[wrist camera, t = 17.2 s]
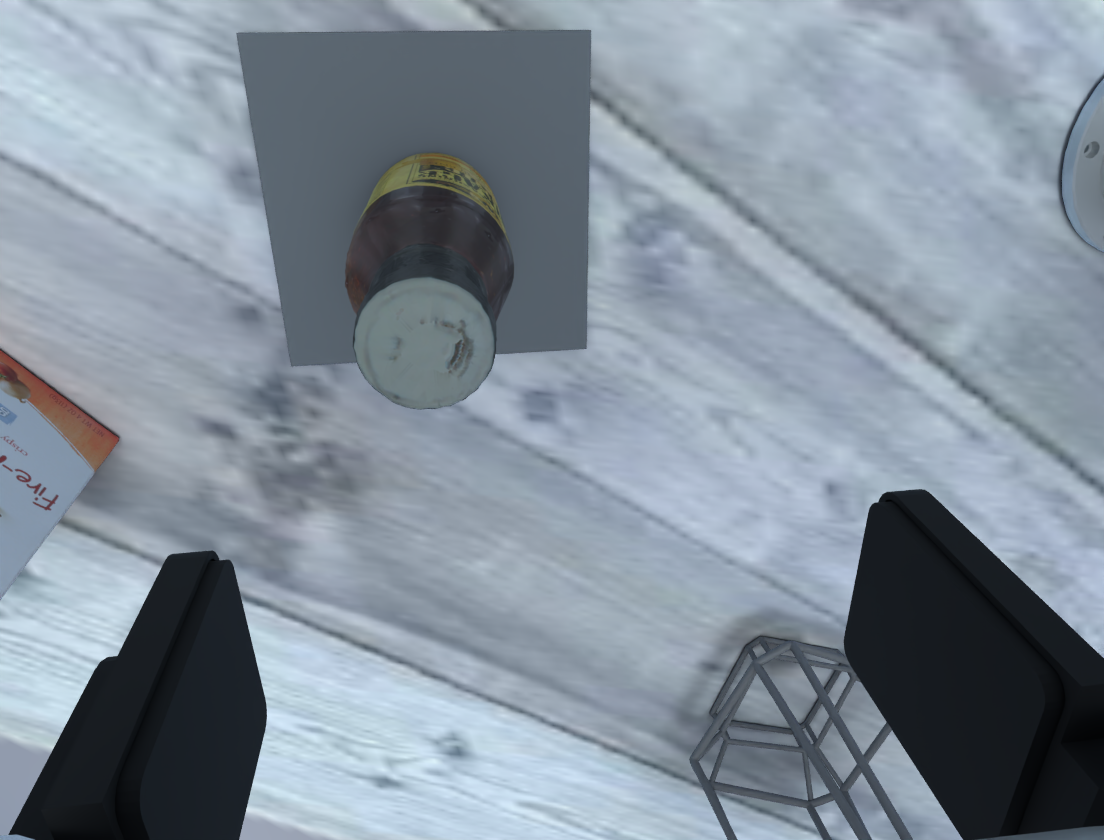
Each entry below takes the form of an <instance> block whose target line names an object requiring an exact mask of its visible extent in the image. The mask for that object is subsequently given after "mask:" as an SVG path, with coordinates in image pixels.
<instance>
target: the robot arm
mask: <svg viewBox="0 0 1104 840" xmlns="http://www.w3.org/2000/svg"><path fill="white" fill-rule="evenodd" d="M1062 195H1063V200H1064V204H1065V209H1066V213H1067V216H1068V217H1069V219H1070V221H1071V223H1072V225H1073V227H1074V229H1075V231H1076V232H1077V233H1078V234H1079V235H1080V236H1081V237H1082V238H1083V239H1084V240H1085V242H1087V243H1088V244H1090V245H1092V246H1093V247H1095V248H1096V249H1098V250H1100V251H1103V252H1104V79H1103V80H1102V81H1101V82H1100V83H1099V85H1098V86H1097V87H1096V89H1095V90H1094V92H1093V93H1092V95H1091V97H1090V98H1089V100H1088V101H1087V103H1086V104H1085V106H1084V107H1083V109H1082V111H1081V113H1080V115H1079V118H1078V120H1077V122H1076V124H1075V126H1074V128H1073V130H1072V133H1071V136H1070V139H1069V143H1068V146H1067V149H1066V152H1065V158H1064V164H1063V171H1062ZM844 649H845V654H846V657H847V660H848V662H849V664H850V666H851V667H852V669H853V670H854V672H855V673H856V675H857V676H858V678H859V679H860V681H861V683H862V684H863V686H864V687H865V689H866V690H867V692H868V693H869V695H870V697H871V698H872V700H873V701H874V703H875V704H876V706H877V707H878V709H879V710H880V712H881V714H882V715H883V717H884V718H885V720H886V721H887V723H888V724H889V726H890V727H891V729H892V731H893V732H894V734H895V735H896V737H897V738H898V740H899V741H900V743H901V744H902V746H903V748H904V749H905V751H906V752H907V754H908V755H909V757H910V758H911V760H912V761H913V763H914V765H915V766H916V768H917V769H918V771H919V772H920V774H921V775H922V777H923V778H924V780H925V782H926V783H927V785H928V786H929V788H930V789H931V791H932V792H933V794H934V795H935V797H936V799H937V800H938V802H939V803H940V805H941V806H942V808H943V809H944V811H945V813H946V814H947V816H948V817H949V819H950V820H951V822H952V823H953V825H954V826H955V828H956V830H957V831H958V833H959V834H960V836H961V837H962V839H963V840H1104V658H1103V657H1102V656H1101V655H1100V654H1099V653H1097V652H1096V651H1095V650H1094V649H1093V648H1092V647H1091V646H1090V645H1089V644H1088V643H1087V642H1086V641H1085V640H1084V639H1083V638H1082V637H1081V636H1080V635H1079V634H1078V633H1076V632H1075V631H1074V630H1073V629H1072V628H1071V627H1070V626H1069V625H1068V624H1067V623H1066V622H1065V621H1064V620H1063V619H1062V618H1061V617H1060V616H1059V615H1058V614H1056V613H1055V612H1054V611H1053V610H1052V609H1051V608H1050V607H1049V606H1048V605H1047V604H1046V603H1045V602H1044V601H1043V600H1042V599H1041V598H1040V597H1039V596H1038V595H1036V594H1035V593H1034V592H1033V591H1032V590H1031V589H1030V588H1029V587H1028V586H1027V585H1026V584H1025V583H1024V582H1023V581H1022V580H1021V579H1020V578H1019V577H1018V576H1017V575H1015V574H1014V573H1013V572H1012V571H1011V570H1010V569H1009V568H1008V567H1007V566H1006V565H1005V564H1004V563H1003V562H1002V561H1001V560H1000V559H999V558H998V557H997V556H995V555H994V554H993V553H992V552H991V551H990V550H989V549H988V548H987V547H986V546H985V545H984V544H983V543H982V542H981V541H980V540H979V539H978V538H977V537H976V536H974V535H973V534H972V533H971V532H970V531H969V530H968V529H967V528H966V527H965V526H964V525H963V524H962V523H961V522H960V521H959V520H958V519H957V518H956V517H954V516H953V515H952V514H951V513H950V512H949V511H948V510H947V509H946V508H945V507H944V506H943V505H942V504H941V503H940V502H939V501H938V500H937V499H936V498H934V497H933V496H932V495H931V494H930V493H929V492H927V491H926V490H922V489H917V490H906V491H894V492H886V493H884V494H883V495H882V496H881V498H880V499H879V502H878V503H874V504H872V506H871V507H870V509H869V513H868V518H867V523H866V528H865V533H864V538H863V544H862V549H861V554H860V559H859V564H858V569H857V575H856V580H855V585H854V590H853V595H852V600H851V605H850V611H849V616H848V621H847V626H846V631H845V636H844ZM266 720H267V709H266V701H265V696H264V692H263V688H262V683H261V679H260V675H259V671H258V667H257V663H256V658H255V654H254V650H253V646H252V642H251V637H250V633H249V629H248V625H247V621H246V617H245V612H244V608H243V604H242V600H241V596H240V591H239V587H238V583H237V579H236V575H235V571H234V567H233V564H232V562H231V561H230V560H219V558H218V555H217V554H216V552H214V551H202V552H190V553H179V554H171V555H169V556H168V557H167V559H166V560H165V562H164V564H163V566H162V568H161V570H160V572H159V574H158V576H157V578H156V580H155V582H154V584H153V586H152V588H151V590H150V592H149V594H148V596H147V598H146V600H145V602H144V604H143V606H142V608H141V610H140V612H139V614H138V616H137V618H136V620H135V622H134V624H133V626H132V628H131V630H130V632H129V634H128V636H127V638H126V640H125V642H124V644H123V646H122V648H121V650H120V652H119V654H118V656H114V657H107V658H106V659H104V660H102V661H101V662H100V663H99V665H98V666H97V668H96V669H95V671H94V672H93V674H92V676H91V678H90V680H89V682H88V684H87V686H86V688H85V690H84V692H83V693H82V695H81V697H80V699H79V701H78V703H77V705H76V707H75V709H74V711H73V713H72V714H71V716H70V718H69V720H68V722H67V724H66V726H65V728H64V730H63V732H62V734H61V735H60V737H59V739H58V741H57V743H56V745H55V747H54V749H53V751H52V753H51V755H50V756H49V758H48V760H47V762H46V764H45V766H44V768H43V770H42V772H41V774H40V776H39V777H38V779H37V781H36V783H35V785H34V787H33V789H32V791H31V793H30V795H29V797H28V799H27V801H26V802H25V804H24V806H23V808H22V810H21V812H20V814H19V816H18V818H17V819H16V821H15V824H14V825H13V827H12V829H11V831H10V833H9V835H1V836H0V840H239V837H240V833H241V829H242V825H243V821H244V816H245V812H246V808H247V804H248V800H249V795H250V791H251V787H252V783H253V779H254V775H255V770H256V766H257V762H258V758H259V754H260V749H261V745H262V741H263V737H264V733H265V728H266Z"/></svg>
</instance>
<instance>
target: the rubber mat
mask: <svg viewBox="0 0 1104 840" xmlns="http://www.w3.org/2000/svg"><path fill="white" fill-rule="evenodd" d="M237 39H238V45H239V51H240V57H241V63H242V69H243V76H244V82H245V88H246V94H247V100H248V106H249V112H250V118H251V124H252V130H253V136H254V142H255V149H256V155H257V161H258V167H259V173H260V179H261V185H262V191H263V197H264V203H265V209H266V215H267V222H268V228H269V234H270V240H271V246H272V252H273V258H274V264H275V270H276V276H277V282H278V288H279V295H280V301H281V307H282V313H283V319H284V325H285V331H286V337H287V343H288V349H289V355H290V361H291V366H307V365H324V364H341V363H357V361H356V357H355V352H354V349H353V334H354V327H355V320H356V317H357V316H356V313H355V312H354V311H353V308H352V305H351V303H350V300H349V296H348V293H347V289H346V287H345V279H346V278H345V268H346V260H347V253H348V251H349V247H350V244H351V241H352V236H353V233H354V230H355V228H356V226H357V224H358V221H359V219H360V217H361V215H362V214H363V212H364V210H365V208H366V206H367V204H368V201H369V199H370V197H371V195H372V193H373V190H374V188H375V186H376V185H377V183H378V182H379V180H380V178H381V177H382V176H383V175H384V174H385V173H386V172H387V171H388V170H389V169H390V168H391V167H392V166H394V165H395V164H396V163H398V162H399V161H401V160H403V159H405V158H407V157H409V156H413V155H416V154H421V153H441V154H446V155H450V156H454V157H456V158H459V159H461V160H462V161H464V162H466V163H467V164H469V165H471V166H472V167H473V168H474V169H475V170H476V171H477V172H478V173H479V174H480V175H481V176H482V177H483V178H484V179H485V181H486V182H487V184H488V185H489V187H490V188H491V190H492V192H493V194H494V197H495V199H496V202H497V205H498V208H499V212H500V214H501V216H502V219H503V222H504V225H505V230H506V233H507V236H508V239H509V241H510V245H511V250H512V254H513V260H514V279H513V283H512V287H511V289H510V292H509V294H508V297H507V299H506V301H505V303H504V305H503V308H502V310H501V312H500V314H499V316H498V319H497V321H496V337H497V341H496V353H495V354H508V353H525V352H542V351H559V350H575V349H586V342H587V273H588V203H589V134H590V64H591V30H548V31H423V32H298V33H237Z"/></svg>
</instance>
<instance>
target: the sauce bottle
mask: <svg viewBox="0 0 1104 840" xmlns="http://www.w3.org/2000/svg"><path fill="white" fill-rule="evenodd" d="M345 278H346V279H345V287H346V289H347V293H348V296H349V300H350V303H351V305H352V308H353V311H354V312H355V313H356V316H357V317H356V320H355V327H354V334H353V349H354V352H355V357H356V361H357V364H358V366H359V368H360V371H361V372H362V374H363V376H364V377H365V379H366V380H367V381H368V383H369V384H370V385H371V386H372V387H373V388H374V389H375V390H377V391H378V392H379V393H381V394H382V395H384V396H385V397H386V398H388V399H389V400H391V401H392V402H394V403H396V404H399V405H401V406H404V407H408V408H413V409H420V410H421V409H437V408H441V407H446V406H451V405H453V404H455V403H457V402H459V401H462V400H464V399H466V398H467V397H468V396H469V395H470V394H472V393H473V392H475V391H476V390H477V389H478V388H479V386H480V385H481V383H482V382H483V381H484V380H485V379H486V377H487V376H488V374H489V372H490V371H491V369H492V366H493V362H494V358H495V353H496V341H497V337H496V321H497V319H498V316H499V314H500V312H501V310H502V308H503V305H504V303H505V301H506V299H507V297H508V294H509V292H510V289H511V287H512V283H513V279H514V260H513V254H512V250H511V245H510V241H509V239H508V236H507V233H506V230H505V225H504V222H503V219H502V216H501V214H500V212H499V208H498V205H497V202H496V199H495V197H494V194H493V192H492V190H491V188H490V187H489V185H488V184H487V182H486V181H485V179H484V178H483V177H482V176H481V175H480V174H479V173H478V172H477V171H476V170H475V169H474V168H473V167H472V166H471V165H469V164H467V163H466V162H464V161H462V160H461V159H459V158H456V157H454V156H450V155H446V154H441V153H421V154H416V155H413V156H409V157H407V158H405V159H403V160H401V161H399V162H398V163H396V164H395V165H394V166H392V167H391V168H390V169H389V170H388V171H387V172H386V173H385V174H384V175H383V176H382V177H381V178H380V180H379V182H378V183H377V185H376V186H375V188H374V190H373V193H372V195H371V197H370V199H369V201H368V204H367V206H366V208H365V210H364V212H363V214H362V215H361V217H360V219H359V221H358V224H357V226H356V228H355V230H354V233H353V236H352V241H351V244H350V247H349V251H348V253H347V260H346V268H345Z"/></svg>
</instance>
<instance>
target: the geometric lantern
mask: <svg viewBox="0 0 1104 840" xmlns="http://www.w3.org/2000/svg"><path fill="white" fill-rule="evenodd" d="M766 642H767V643H772V644H778V645H779V646H777V647H775V648H774V649H772V650H770V648H769V646H768V645H767V643H766ZM759 643H760V644H761V645H762V647H763V648H764V650H765V651H766V653H765V654H763V655H761V656H760V657H758V658H757V657H756V655H755V653H754V651H753V650H752V648H753V647H755V646H756V645H758V644H759ZM790 649H791V650H792V652H793V654H794V656H795V657H791V656H785V655H781V654H783V653H784V652H786V651H788V650H790ZM802 652H805V653H808V654H812V655H815V656H819V657H822V658H825V659H829V660H832V661H836V662H839V663H840V665H834V664H829V663H823V662H818V661H812V660H807V659H806V658H805V656H804V655H803V653H802ZM748 653H749V655H750V657H751V658H752V660H753V661H752V663H751V664H750V666H749V667H748V669H747V671H746V672H745V674H744V675H743V677H742V678H741V680H740V681H739V683H738V684H737V686H736V687H735V689H734V690H733V692H732V694H731V695H730V697H729V698H728V700H727V701H726V703H725V704H724V706H723V707H722V709H721V710H720V712H719V714H718V715H717V714H716V711H717V709H718V707H719V705H720V704H721V702H722V700H723V698H724V696H725V695H726V693H727V691H728V689H729V687H730V685H731V684H732V682H733V680H734V678H735V676H736V675H737V673H738V671H739V669H740V667H741V665H742V664H743V662H744V660H745V658H746V656H747V655H748ZM772 659H778V660H783V661H789V662H794V663H799V664H800V666H801V668H802V669H803V671H804V673H805V674H806V676H807V678H808V680H809V681H810V683H811V685H812V687H813V688H814V690H815V692H816V693H817V695H818V697H819V699H818V701H817V703H816V704H815V706H814V707H813V709H812V711H811V712H810V714H809V716H808V717H807V719H806V721H805V722H804V723H802V724H800V725H799V723H798V722H797V720H796V718H795V717H794V715H793V714H792V712H791V710H790V709H789V707H788V706H787V704H786V702H785V701H784V699H783V698H782V696H781V694H780V693H779V691H778V690H777V688H776V687H775V685H774V684H773V682H772V680H771V679H770V677H769V676H768V674H767V673H766V671H765V670H764V668H763V667H762V665H763V664H765V663H767V662H769V661H770V660H772ZM810 665H811V666H816V667H822V668H828V669H833V670H836V671H835V673H834V675H833V676H832V678H831V680H830V681H829V683H828V684H827V686H826V688H825V689H824V688H823V686H822V685H821V683H820V681H819V680H818V678H817V676H816V675H815V673H814V671H813V670H812V668H811V666H810ZM842 671H844V672H847V673H848V675H849V676H850V680H849V682H848V684H847V685H846V687H845V689H844V691H843V693H842V695H841V696H840V698H839V700H838V702H837V704H836V706H835V707H834V705H833V703H832V702H831V700H830V698H829V696H828V693H829V691H830V690H831V688H832V686H833V685H834V683H835V681H836V680H837V678H838V677H839V675H840V673H841V672H842ZM756 674H758V676H759V677H760V679H761V680H762V682H763V683H764V685H765V687H766V688H767V690H768V691H769V693H770V695H771V696H772V698H773V699H774V701H775V703H776V704H777V706H778V708H779V709H780V711H781V713H782V714H783V716H784V717H785V719H786V721H787V722H788V724H789V726H790V727H791V729H792V730H791V729H784V728H777V727H771V726H764V725H757V724H750V723H743V722H736V721H732V719H733V717H734V715H735V713H736V711H737V709H738V707H739V706H740V704H741V702H742V700H743V698H744V696H745V694H746V692H747V690H748V689H749V687H750V685H751V683H752V681H753V679H754V677H755V675H756ZM855 681H859V682H861V681H860V679H859V678H858V676H857V675H856V673H855V672H854V670H853V669H852V667H851V666H850V664H849V662H848V660H847V657H846V656H843V655H842V654H841V652H840V651H839V650H834V649H829V648H823V647H818V646H812V645H807V644H803V643H799V642H796V641H791V640H790V641H785V640H779V639H774V638H769V637H762V636H760V637H758V638H757V639H755V640H754V641H753V642H751V643H750V644H748V645H746V647H745V648H744V651H743V653H742V654H741V656H740V658H739V660H738V662H737V664H736V665H735V667H734V669H733V671H732V673H731V674H730V676H729V678H728V680H727V682H726V684H725V685H724V687H723V689H722V691H721V693H720V695H719V696H718V698H717V700H716V702H715V704H714V706H713V707H712V709H711V712H710V715H711V716H712V717H713V718H714V721H713V723H712V724H711V726H710V727H709V729H708V730H707V732H706V733H705V735H704V737H703V738H702V740H701V741H700V743H699V744H698V746H697V747H696V749H695V750H694V752H693V753H692V755H691V757H690V759H689V760H690V764H691V766H692V768H693V770H694V772H695V773H696V775H697V777H698V779H699V781H700V783H701V785H702V787H703V790H704V792H705V794H706V796H707V798H708V800H709V802H710V804H711V806H712V808H713V810H714V812H715V814H716V816H717V818H718V820H719V822H720V824H721V827H722V829H723V831H724V833H725V835H726V837H727V839H728V840H737V838H736V836H735V834H734V832H733V830H732V828H731V826H730V824H729V822H728V819H727V817H726V815H725V813H724V810H723V808H722V806H721V804H720V802H719V799H718V797H717V795H716V793H715V791H714V790H717V791H722V792H727V793H732V794H737V795H742V796H747V797H752V798H757V799H762V800H767V801H772V802H777V803H782V804H787V805H792V806H798V807H803V808H807V810H808V812H809V814H810V816H811V818H812V820H813V821H814V823H815V825H816V827H817V829H818V831H819V833H820V835H821V837H822V838H823V840H832V839H831V837H830V836H829V834H828V832H827V830H826V828H825V826H824V824H823V823H822V821H821V819H820V817H819V815H818V813H817V812H816V810H815V808H814V807H817V806H820V805H822V804H825V803H828V802H830V801H833V800H835V801H836V803H837V805H838V806H839V808H840V810H841V811H842V813H843V815H844V816H845V818H846V820H847V821H848V823H849V824H850V826H851V828H852V829H853V831H854V833H855V834H856V836H857V838H858V839H859V840H872V839H871V837H870V835H869V833H868V831H867V829H866V827H865V825H864V823H863V821H862V819H861V817H860V815H859V813H858V811H857V809H856V807H855V805H854V803H853V801H852V799H851V797H850V795H849V793H848V791H849V789H850V788H851V787H852V785H853V784H854V782H855V781H856V780H857V778H858V777H859V775H860V774H861V773H863V775H864V776H865V778H866V780H867V782H868V783H869V785H870V787H871V788H872V790H873V792H874V794H875V795H876V797H877V799H878V801H879V802H880V804H881V806H882V807H883V809H884V811H885V813H886V814H887V816H888V818H889V820H890V821H891V823H892V825H893V826H894V828H895V830H896V832H897V833H898V835H899V837H900V839H901V840H913V839H912V837H911V835H910V834H909V832H908V830H907V828H906V827H905V825H904V823H903V822H902V820H901V818H900V817H899V815H898V813H897V812H896V810H895V808H894V806H893V805H892V803H891V801H890V800H889V798H888V796H887V795H886V793H885V791H884V790H883V788H882V786H881V784H880V783H879V781H878V779H877V778H876V776H875V774H874V773H873V771H872V769H871V768H870V766H869V764H868V763H869V761H870V760H871V759H872V757H873V756H874V754H875V753H876V752H877V750H878V749H879V747H880V746H881V744H882V743H883V742H884V740H885V739H886V737H887V736H888V735H889V733H890V732H891V730H892V729H891V727H890V726H889V724H888V723H886V724H885V725H884V727H883V728H882V730H881V731H880V732H879V734H878V735H877V737H876V738H875V740H874V741H873V742H872V744H871V745H870V747H869V748H868V749H867V751H866V752H865V754H864V755H863V754H862V752H861V751H860V749H859V747H858V746H857V744H856V742H855V740H854V739H853V737H852V735H851V734H850V732H849V730H848V729H847V727H846V725H845V724H844V722H843V720H842V718H841V717H840V715H839V713H838V712H839V710H840V708H841V706H842V704H843V703H844V701H845V699H846V697H847V695H848V693H849V692H850V690H851V688H852V686H853V684H854V682H855ZM821 704H823V706H824V707H825V709H826V711H827V712H828V714H829V716H830V717H829V718H828V720H827V722H826V724H825V726H824V728H823V729H822V731H821V733H820V735H819V737H818V739H817V738H816V736H815V734H814V732H813V731H812V729H811V727H810V726H809V724H810V722H811V721H812V719H813V717H814V716H815V714H816V712H817V711H818V709H819V708H820V706H821ZM729 712H730V713H729ZM728 714H729V715H728ZM727 715H728V717H727ZM726 717H727V719H726V720H725V718H726ZM832 723H834V725H835V726H836V728H837V730H838V731H839V733H840V735H841V737H842V738H843V740H844V742H845V744H846V745H847V747H848V749H849V750H850V752H851V754H852V756H853V757H854V759H855V761H856V763H857V765H856V766H855V768H854V769H853V771H852V772H851V773H850V775H849V776H848V778H847V779H846V781H845V782H844V783H843V782H842V781H841V779H840V778H839V776H838V775H837V773H836V772H835V771H834V769H833V768H832V766H831V765H830V763H829V762H828V760H827V759H826V757H825V756H824V754H823V753H822V751H821V750H820V748H819V746H820V744H821V743H822V741H823V739H824V737H825V735H826V733H827V732H828V730H829V728H830V726H831V724H832ZM728 726H736V727H743V728H750V729H757V730H764V731H771V732H778V733H785V734H793V735H794V737H795V739H796V741H797V743H798V745H799V747H795V746H787V745H778V744H770V743H762V742H753V741H745V740H737V739H730V737H729V734H728V732H727V728H728ZM804 728H806V730H807V732H808V733H809V735H810V737H811V739H812V740H813V742H814V744H811V743H810V741H809V739H808V738H807V736H806V735H805V733H804V731H803V730H802V729H804ZM718 729H719V730H720V731H719V732H718V733H717V734H716V732H717V730H718ZM715 734H716V735H715ZM714 735H715V736H714ZM721 736H722V738H723V740H724V741H723V743H722V746H721V749H720V752H719V755H718V757H717V760H716V763H715V766H714V768H713V771H712V774H711V777H710V780H708V779H707V777H706V775H705V774H704V772H703V770H702V767H701V765H700V763H699V760H700V759H701V758H702V757H703V756H704V755H705V754H706V753H707V752H708V750H709V749H710V748H711V747H712V746H713V745H714V744H715V743H716V742H717V741H718V740H719V739H720V737H721ZM728 744H733V745H742V746H750V747H759V748H767V749H776V750H784V751H793V752H801V753H802V755H803V763H804V770H805V778H806V786H807V793H808V801H807V800H802V799H797V798H793V797H788V796H783V795H778V794H773V793H768V792H763V791H758V790H753V789H748V788H743V787H738V786H733V785H728V784H723V783H718V782H715V779H716V776H717V773H718V771H719V768H720V765H721V762H722V759H723V757H724V754H725V751H726V748H727V745H728ZM808 757H809V759H810V760H811V762H812V764H813V765H814V767H815V768H816V770H817V772H818V773H819V775H820V777H821V778H822V780H823V782H824V783H825V785H826V787H827V788H828V790H829V792H830V793H829V794H826V795H823V796H821V797H818V798H815V799H813V792H812V785H811V777H810V770H809V762H808ZM822 761H823V762H822ZM824 764H825V765H824ZM825 766H826V767H827V768H826V767H825ZM827 769H828V770H829V772H830V773H831V775H832V776H833V778H834V779H835V781H836V782H837V784H838V785H839V787H840V789H839V788H838V786H837V784H836V783H835V781H834V780H833V778H832V776H831V775H830V773H829V772H828V770H827Z"/></svg>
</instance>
